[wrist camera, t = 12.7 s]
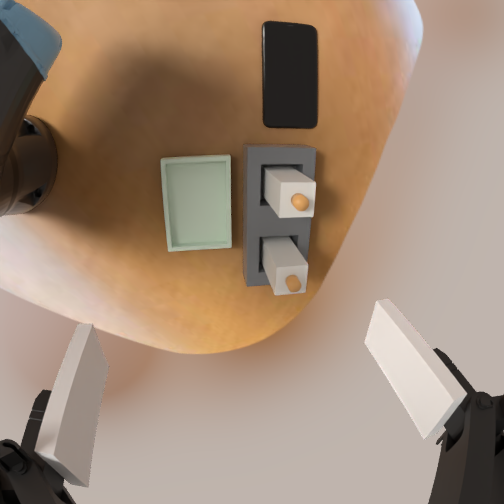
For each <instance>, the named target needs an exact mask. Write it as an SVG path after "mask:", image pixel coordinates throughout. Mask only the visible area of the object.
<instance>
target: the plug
mask: <svg viewBox="0 0 504 504" xmlns="http://www.w3.org/2000/svg"><path fill="white" fill-rule="evenodd" d="M260 260H261V263H262V265H263V267H264V270H265V272H266V275H267V277H268V280H269V282H270V284H271V287H272V289H273V292H274V294H275V295H285V294H295V293H305V292H306V283H307V274H308V263H307V262H306V260H305V259H304V257H303V256H302V255H301V253H300V252H299V250H298V249H297V247H296V246H295V244H294V243H293V241H292V240H291V239H290V237H289V236H269V237H261V240H260Z"/></svg>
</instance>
